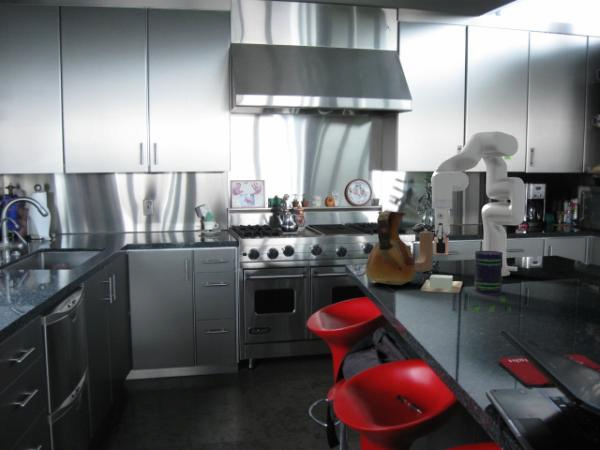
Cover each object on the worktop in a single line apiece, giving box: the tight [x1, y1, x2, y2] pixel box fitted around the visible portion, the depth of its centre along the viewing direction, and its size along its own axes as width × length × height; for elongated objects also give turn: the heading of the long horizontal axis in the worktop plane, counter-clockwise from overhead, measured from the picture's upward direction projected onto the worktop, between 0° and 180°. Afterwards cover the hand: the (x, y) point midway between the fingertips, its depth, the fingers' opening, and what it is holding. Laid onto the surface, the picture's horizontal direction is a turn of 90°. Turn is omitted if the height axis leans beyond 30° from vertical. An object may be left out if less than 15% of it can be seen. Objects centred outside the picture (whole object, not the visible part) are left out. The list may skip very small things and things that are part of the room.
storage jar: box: [473, 250, 503, 296], centre depth 201 cm, size 10×10×15 cm
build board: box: [420, 279, 463, 294], centre depth 211 cm, size 14×18×1 cm
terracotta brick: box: [433, 236, 450, 256], centre depth 206 cm, size 5×5×6 cm
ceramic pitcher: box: [365, 210, 416, 286], centre depth 218 cm, size 20×20×30 cm
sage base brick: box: [429, 274, 454, 289], centre depth 208 cm, size 8×6×4 cm
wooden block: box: [414, 230, 434, 273], centre depth 249 cm, size 9×4×18 cm, turn 131°
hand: (441, 251), depth 206 cm, fingers closed on terracotta brick, 5 cm apart
